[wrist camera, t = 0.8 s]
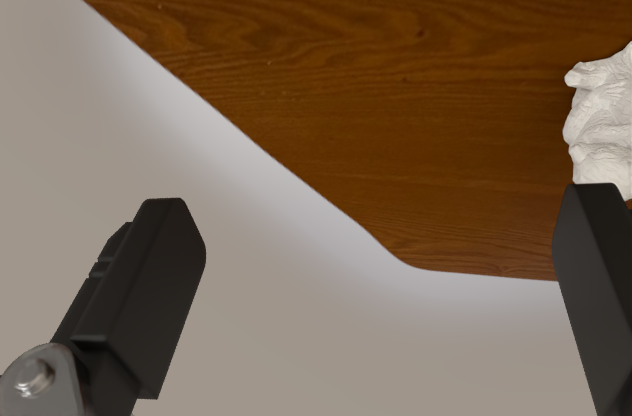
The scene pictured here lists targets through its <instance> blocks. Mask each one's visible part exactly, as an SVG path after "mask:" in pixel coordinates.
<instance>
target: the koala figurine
mask: <svg viewBox="0 0 632 416" xmlns="http://www.w3.org/2000/svg"><path fill="white" fill-rule="evenodd" d="M565 82H566V84H567V85H568V86H571V87H575V88H577V90H576V93H575V95H574V97H573V99H572V100H573V101H572V110H571V111H570V113H569V115H568V117H567V120H566V122H565V125H564V128H563V137H564V140H565V141H566V142H567V143H568V144H569V145H570V146H569V154H570V155H571V157H572V160H573V162H574V169H573V175H574V176H573V181H574V182H575V184H585V183H614V184H615V185H616V186H617V187H618V189H619V191H620V193H621V195H622V197H623V199H624V201H626V200H629V199H631V198H632V41H631V42H629V43H628V45H627V46H626V47H625V48H624V50H622V51H620V52H618V53H617V54H615V55H613V56H612V57H610V58H606V59H602V60H597V61H592V62H585V63H583V62H579V63H577V64H576V65H575V66H574V68H573V69H572V70H570V71H569V72H568V73H567V74H566V76H565Z"/></svg>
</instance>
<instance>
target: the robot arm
mask: <svg viewBox="0 0 632 416" xmlns="http://www.w3.org/2000/svg"><path fill="white" fill-rule="evenodd" d="M552 258H553V264H554V268H555V272H556V275H557V279H558V282H559V285H560V289H561V293H562V296H563V299H564V303H565V306H566V309H567V313H568V316H569V320H570V323H571V327H572V330H573V334H574V336H575V340H576V344H577V347H578V350H579V354H580V358H581V361H582V364H583V368H584V371H585V375H586V378H587V381H588V385H589V388H590V391H591V395H592V398H593V402H594V405H595V409H596V412H597V416H632V209H629V210H628V208H627V206H626V204H625V201H624V199H623V197H622V195H621V193H620V191H619V189H618V187H617V186H616V185H615V184H614V183H585V184H569V185H568V186H567V187H566V189H565V192H564V196H563V200H562V204H561V208H560V211H559V215H558V219H557V223H556V227H555V231H554V235H553V240H552ZM205 263H206V248H205V244H204V241H203V239H202V237H201V235H200V233H199V231H198V228H197V226H196V224H195V222H194V220H193V218H192V216H191V214H190V212H189V210H188V208H187V205H186V203H185V202H184V201H183V200H182V199H181V198H157V199H147V200H145V201H144V202H143V203H142V205H141V207H140V209H139V210H138V212H137V214H136V216H135V218H134V220H133V222H126V223H125V224H124V225H123V226H122V227H121V228H120V229H119V230H118V231H117V232H116V233H115V234H113V236H111V237H110V238H109V239H108V241H107V243H106V245H105V246H104V248H103V250H102V252H101V254H100V255H99V257H98V262H96V263H95V264H94V266H93V267H92V269H91V271H90V273H89V278H86V280H85V282H84V283H83V285H82V287H81V289H80V290H79V292H78V294H77V296H76V297H75V299H74V301H73V303H72V305H71V306H70V308H69V310H68V312H67V313H66V315H65V317H64V319H63V320H62V322H61V324H60V325H59V327H58V329H57V331H56V333H55V334H54V336H53V338H52V339H51V341H50V342H49V343H46V344H42V345H39V346H36V347H34V348H32V349H30V350H28V351H27V352H25V353H23V354H22V355H21V356H19V357H18V358H17V359H16V360H15V361H13V362H12V364H11V365H10V366H9V367H8V368H7V369H6V371H5V372H4V373H3V375H0V416H134V415H133V414H132V410H133V408H134V405H135V403H136V400H137V399H156V400H157V399H158V396H159V393H160V391H161V388H162V385H163V382H164V379H165V377H166V374H167V371H168V368H169V366H170V363H171V360H172V357H173V354H174V352H175V349H176V346H177V343H178V341H179V338H180V335H181V332H182V329H183V327H184V324H185V321H186V318H187V315H188V313H189V310H190V307H191V304H192V301H193V299H194V296H195V293H196V290H197V287H198V285H199V282H200V279H201V277H202V274H203V271H204V268H205Z"/></svg>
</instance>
